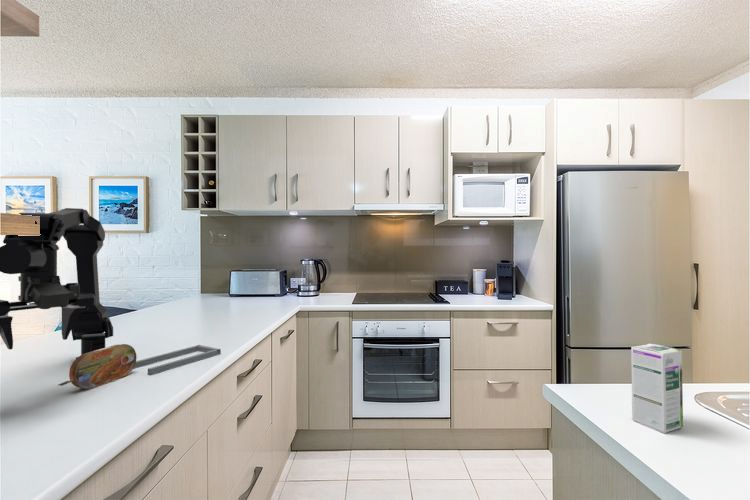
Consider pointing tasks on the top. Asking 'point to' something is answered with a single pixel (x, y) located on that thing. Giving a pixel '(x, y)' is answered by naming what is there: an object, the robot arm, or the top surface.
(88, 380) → the tin
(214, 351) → the slate corral
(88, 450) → the top surface
